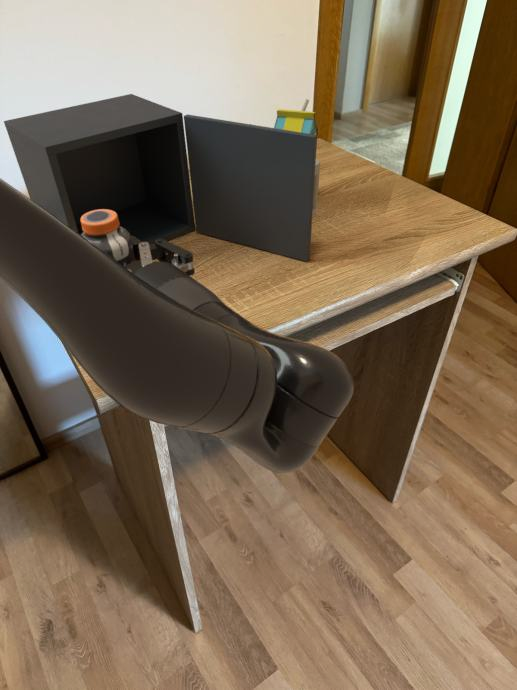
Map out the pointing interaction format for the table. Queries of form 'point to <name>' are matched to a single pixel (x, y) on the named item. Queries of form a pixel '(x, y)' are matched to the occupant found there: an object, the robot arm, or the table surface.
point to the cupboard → (109, 164)
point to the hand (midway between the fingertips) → (99, 250)
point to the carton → (297, 120)
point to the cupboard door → (253, 184)
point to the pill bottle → (108, 235)
